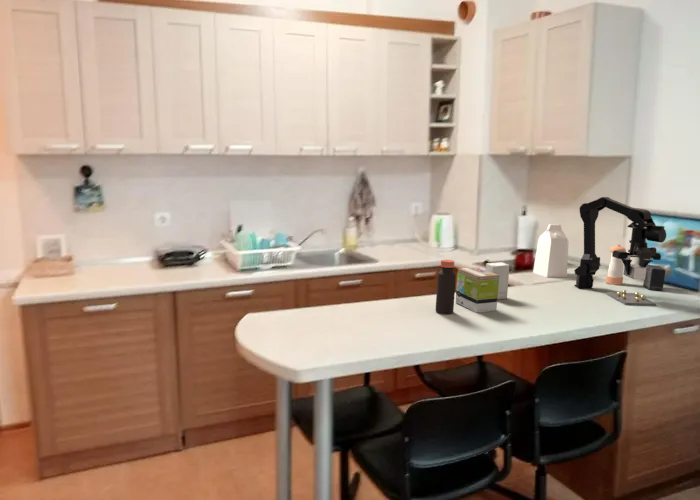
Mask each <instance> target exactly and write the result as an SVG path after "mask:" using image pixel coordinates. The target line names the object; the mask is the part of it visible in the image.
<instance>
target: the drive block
mask: <svg viewBox="0 0 700 500" xmlns="http://www.w3.org/2000/svg"><path fill="white" fill-rule="evenodd" d="M623 275H624V276H625V277H628V278H629V279H632V280H643V281H644V280H645V275H646V268H645V267H642V266H640V264H637V263H631V264H630V273H629V275H628V274H627V272H626V269H625V266H624V265H623Z"/></svg>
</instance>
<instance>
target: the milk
mask: <svg viewBox="0 0 700 500" xmlns="http://www.w3.org/2000/svg"><path fill="white" fill-rule="evenodd" d="M535 251H536V252H535V257H534V264H533V269H532V270H533V271H532V273H533V274H536V275H540V276H541V277H545V278H560V277H563V278H564V277H565V278H566V277H567V276H568V260H569V259H568V257H569V239H568V237H567V236H566V234H565V232H564V231H563V230H562V225H561V224H557V223H556V224H551V223H548V226H547V228H546V230H545V231H543V233H541V234H540V236H539V237H538V239H537V246H536V250H535Z"/></svg>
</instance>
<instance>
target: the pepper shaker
mask: <svg viewBox="0 0 700 500" xmlns="http://www.w3.org/2000/svg"><path fill="white" fill-rule="evenodd" d="M614 250H619V251H625V252H627V250H626V248H625V247H624V246H621V244H617V245H614V246H611V248H610V250H609V252H611V254H610V255H611V257H610V262H609V265H608V268H607V269H608V271H607V275H606V278H605V280H606V283H607V284H609V285H615V286H622V285H623V282H624V277H623V275H624V264H623V262H622V259H618V258H615V257H613V256H612V254H613V252H614Z"/></svg>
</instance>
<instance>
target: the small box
mask: <svg viewBox="0 0 700 500" xmlns="http://www.w3.org/2000/svg"><path fill="white" fill-rule="evenodd" d="M665 277H666V268H663V267H662V266H660V265H654V264H648V265H647V266H646V275H645V280H643V283H642V284H643V286H644V288H646V289H647V290H649V291H659V292H663V290H664V283H665Z"/></svg>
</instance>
